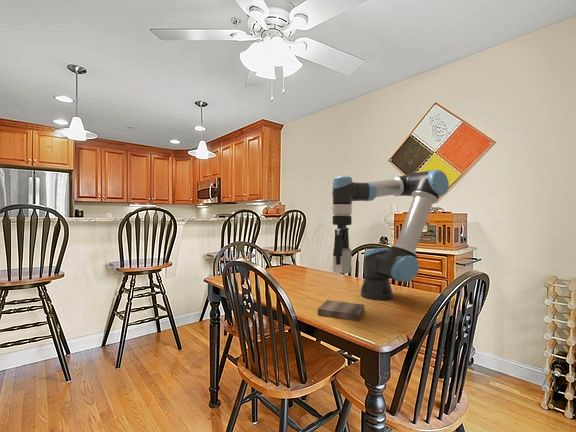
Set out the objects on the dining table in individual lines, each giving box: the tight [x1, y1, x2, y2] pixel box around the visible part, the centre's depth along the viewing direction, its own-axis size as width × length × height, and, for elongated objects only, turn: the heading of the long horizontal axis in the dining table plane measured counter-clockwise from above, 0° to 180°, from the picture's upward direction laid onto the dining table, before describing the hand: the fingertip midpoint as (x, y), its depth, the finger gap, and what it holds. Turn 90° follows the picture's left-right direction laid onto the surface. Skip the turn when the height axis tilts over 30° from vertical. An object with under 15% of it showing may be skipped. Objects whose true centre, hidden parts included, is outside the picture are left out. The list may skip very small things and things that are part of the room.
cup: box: [332, 248, 352, 274], centre depth 122 cm, size 7×10×9 cm
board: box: [317, 299, 365, 322], centre depth 122 cm, size 16×13×2 cm
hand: (341, 270), depth 122 cm, fingers closed on cup, 10 cm apart
